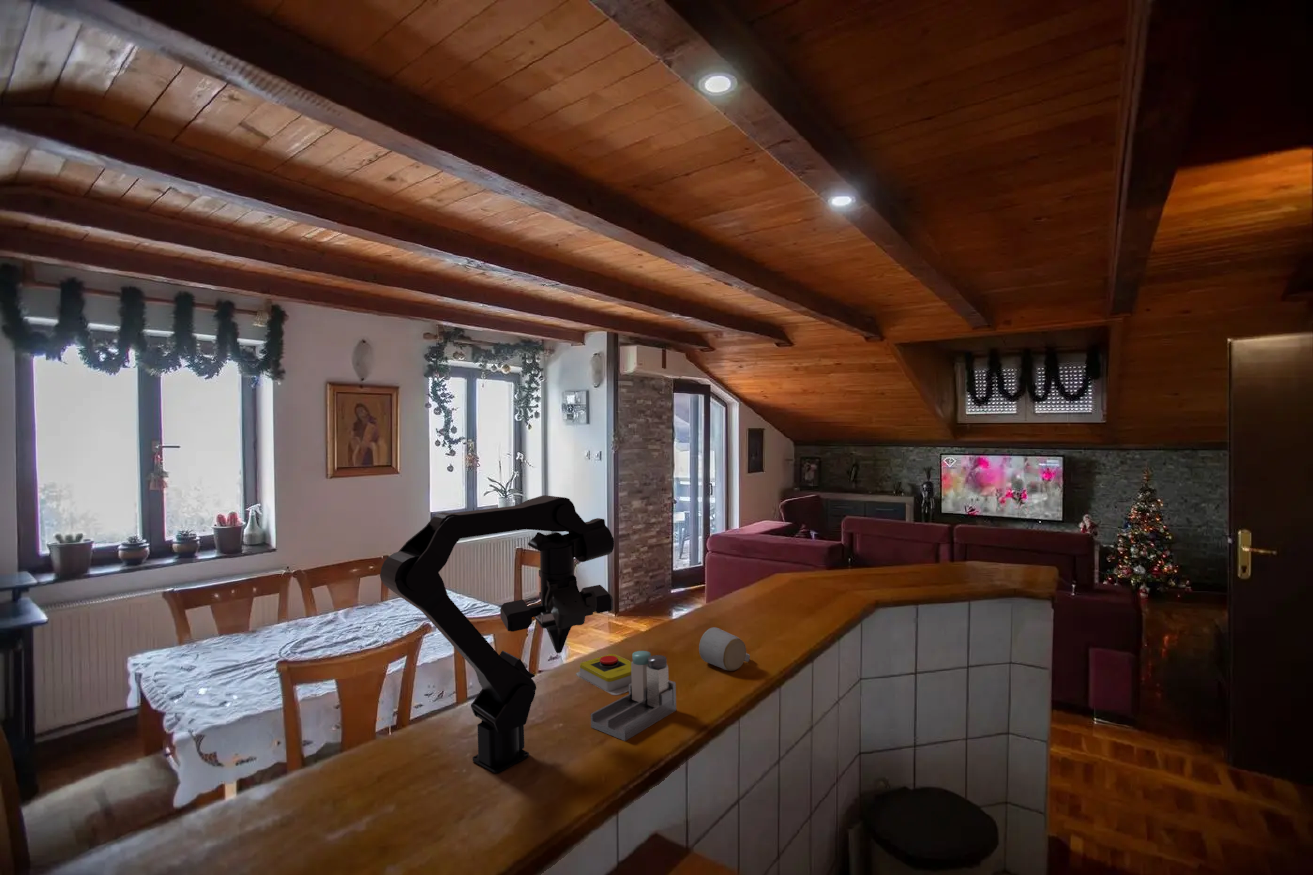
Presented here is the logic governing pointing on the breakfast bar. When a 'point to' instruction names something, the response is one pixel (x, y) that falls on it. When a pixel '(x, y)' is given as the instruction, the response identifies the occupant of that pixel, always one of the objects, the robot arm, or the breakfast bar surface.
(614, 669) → the emergency button
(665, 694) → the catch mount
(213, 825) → the breakfast bar surface
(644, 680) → the plunger
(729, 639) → the ceramic mug
